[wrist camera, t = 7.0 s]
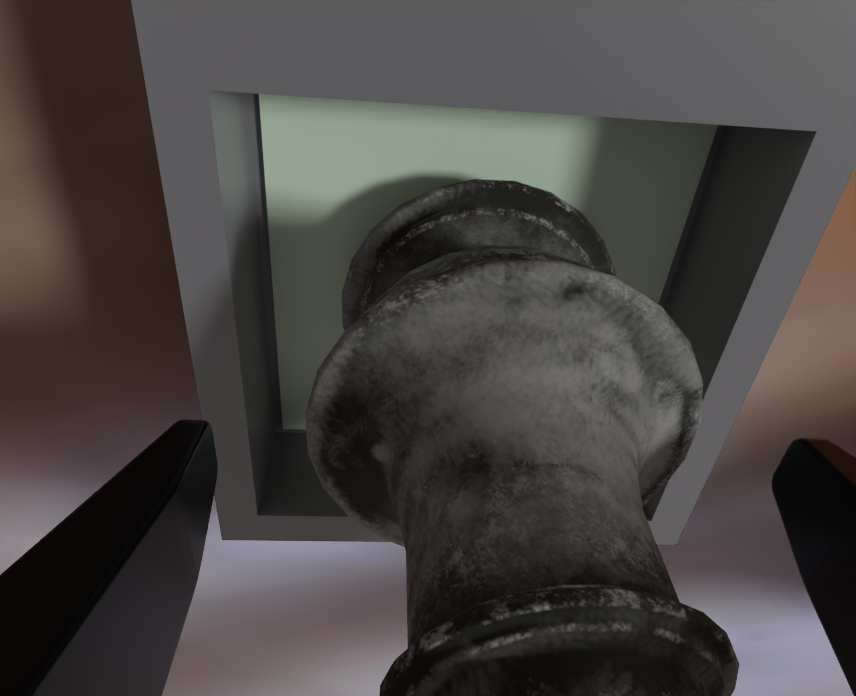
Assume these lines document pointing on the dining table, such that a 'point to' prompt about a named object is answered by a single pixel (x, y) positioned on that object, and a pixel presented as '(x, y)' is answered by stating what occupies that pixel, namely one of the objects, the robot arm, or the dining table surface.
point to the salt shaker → (515, 450)
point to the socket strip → (487, 160)
